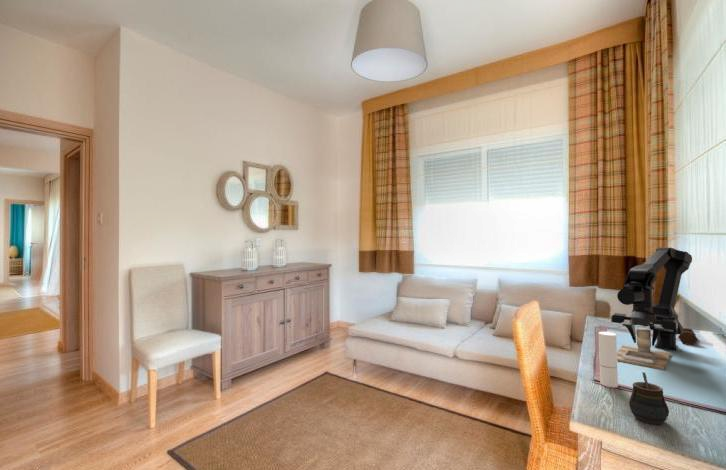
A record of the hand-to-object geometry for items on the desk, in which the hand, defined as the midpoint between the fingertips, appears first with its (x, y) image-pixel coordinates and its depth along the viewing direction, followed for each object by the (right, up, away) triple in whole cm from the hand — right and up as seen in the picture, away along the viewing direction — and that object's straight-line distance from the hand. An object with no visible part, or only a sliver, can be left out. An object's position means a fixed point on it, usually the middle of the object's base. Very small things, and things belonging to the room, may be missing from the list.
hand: (644, 344), depth 128 cm
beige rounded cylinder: (0, -3, 0) cm, 2 cm away
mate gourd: (-36, -4, -46) cm, 59 cm away
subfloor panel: (-4, -3, -4) cm, 7 cm away
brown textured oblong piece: (+30, -3, +15) cm, 34 cm away
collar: (-8, -3, -7) cm, 11 cm away
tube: (-32, -4, -26) cm, 41 cm away
